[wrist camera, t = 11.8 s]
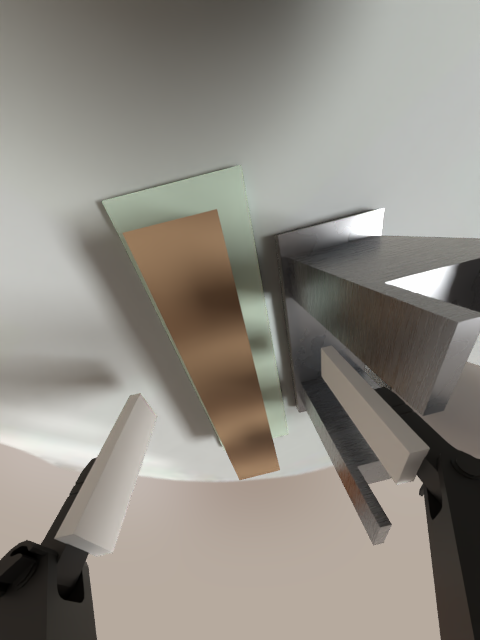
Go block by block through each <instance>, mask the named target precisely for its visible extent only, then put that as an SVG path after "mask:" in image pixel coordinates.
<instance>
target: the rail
mask: <svg viewBox="0 0 480 640" xmlns="http://www.w3.org/2000/svg"><path fill="white" fill-rule="evenodd" d="M123 235H124V238H125V240H126V242H127V244H128V246H129V248H130V250H131V252H132V254H133V257H134V259H135V261H136V263H137V265H138V267H139V269H140V271H141V273H142V275H143V278H144V280H145V282H146V284H147V286H148V288H149V290H150V292H151V294H152V297H153V299H154V301H155V303H156V305H157V307H158V309H159V311H160V313H161V315H162V318H163V320H164V322H165V324H166V326H167V328H168V330H169V332H170V334H171V337H172V339H173V341H174V343H175V345H176V347H177V349H178V351H179V353H180V355H181V358H182V360H183V362H184V364H185V366H186V368H187V370H188V372H189V374H190V377H191V379H192V381H193V383H194V385H195V387H196V389H197V391H198V393H199V395H200V398H201V400H202V402H203V404H204V406H205V408H206V410H207V412H208V414H209V416H210V419H211V421H212V423H213V425H214V427H215V429H216V431H217V433H218V435H219V438H220V440H221V442H222V444H223V446H224V448H225V450H226V452H227V454H228V456H229V459H230V461H231V463H232V465H233V467H234V469H235V471H236V473H237V475H238V478H239V480H242V479H246V478H250V477H254V476H258V475H262V474H266V473H270V472H274V471H278V470H280V468H279V464H278V460H277V456H276V451H275V447H274V443H273V439H272V435H271V431H270V427H269V422H268V418H267V414H266V410H265V406H264V402H263V398H262V393H261V389H260V385H259V381H258V377H257V373H256V369H255V364H254V360H253V356H252V352H251V348H250V344H249V340H248V335H247V331H246V327H245V323H244V319H243V315H242V310H241V306H240V302H239V298H238V294H237V290H236V286H235V281H234V277H233V273H232V269H231V265H230V261H229V257H228V252H227V248H226V244H225V240H224V236H223V232H222V228H221V223H220V219H219V215H218V211H217V209H215V210H211V211H207V212H203V213H199V214H195V215H191V216H187V217H183V218H179V219H176V220H172V221H168V222H164V223H160V224H156V225H152V226H148V227H144V228H140V229H136V230H132V231H128V232H124V233H123Z"/></svg>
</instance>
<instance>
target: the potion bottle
mask: <svg viewBox="0 0 480 640" xmlns="http://www.w3.org/2000/svg"><path fill="white" fill-rule="evenodd" d="M391 391H392V392H394V393H395V394H397V393H396V392H395V391H394V390H393V389H392V388H391ZM397 395H398V396H399V397H400V398H401V399H402V400H403V401H404V402H405V404H406V405H408V406H409V407H410V408H412V409H413V411H414V412H416V413H417V414H418V415H419V416H420V417H421V418H422V419H423V420H424V421H425V422H426V423H428V424H429V425H430V426H431V427H432V428H433V429H434V430H435V431H436V432H437V433H438V434H439V435H440V436H441V437H442V438H443V439H445V440H446V441H447V442H448V443H449V444H450V445H452V446H453V447H454V448H456V449H457V450H460V451H463V452H465V453H467V454H469V455H472V456H473V457H475V458H478V459H480V366H478V365H475V364H472V363H469V362H466V364H465V366H464V368H463V370H462V372H461V375H460V377H459V379H458V381H457V383H456V385H455V388H454V390H453V392H452V394H451V396H450V399H449V401H448V403H447V405H446V407H445V409H444V411H441V412H437V413H433V414H429V415H425V416H422V415H421V414H420V413H418V412H417V411H416V410H415V409H414V408H413V407H412V406H411V405H410V404H409V403H407V402H406V401H405V400H404V399H403V398H402V397H401V396H400V395H399V394H397Z"/></svg>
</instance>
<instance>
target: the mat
mask: <svg viewBox="0 0 480 640" xmlns="http://www.w3.org/2000/svg"><path fill="white" fill-rule="evenodd" d="M102 203H103V205H104V207H105V209H106V211H107V213H108V215H109V217H110V219H111V221H112V223H113V225H114V227H115V229H116V231H117V233H118V236H119V238H120V240H121V242H122V244H123V246H124V248H125V250H126V252H127V254H128V256H129V258H130V260H131V262H132V264H133V266H134V268H135V270H136V272H137V274H138V276H139V278H140V280H141V282H142V284H143V286H144V288H145V290H146V292H147V294H148V296H149V298H150V300H151V303H152V305H153V307H154V309H155V311H156V313H157V315H158V317H159V319H160V321H161V323H162V325H163V327H164V329H165V331H166V333H167V335H168V337H169V339H170V341H171V343H172V345H173V347H174V349H175V351H176V353H177V355H178V357H179V359H180V361H181V363H182V365H183V367H184V370H185V372H186V374H187V376H188V378H189V380H190V382H191V384H192V386H193V388H194V390H195V392H196V394H197V396H198V398H199V400H200V402H201V404H202V406H203V408H204V410H205V412H206V414H207V416H208V418H209V420H210V422H211V424H212V426H213V428H214V430H215V432H216V434H217V437H218V439H219V441H220V443H221V445H222V447H223V449H224V451H225V448H224V446H223V444H222V442H221V440H220V438H219V435H218V433H217V431H216V429H215V427H214V425H213V423H212V421H211V419H210V416H209V414H208V412H207V410H206V408H205V406H204V404H203V402H202V400H201V398H200V395H199V393H198V391H197V389H196V387H195V385H194V383H193V381H192V379H191V377H190V374H189V372H188V370H187V368H186V366H185V364H184V362H183V360H182V358H181V355H180V353H179V351H178V349H177V347H176V345H175V343H174V341H173V339H172V337H171V334H170V332H169V330H168V328H167V326H166V324H165V322H164V320H163V318H162V315H161V313H160V311H159V309H158V307H157V305H156V303H155V301H154V299H153V297H152V294H151V292H150V290H149V288H148V286H147V284H146V282H145V280H144V278H143V275H142V273H141V271H140V269H139V267H138V265H137V263H136V261H135V259H134V257H133V254H132V252H131V250H130V248H129V246H128V244H127V242H126V240H125V238H124V235H123V233H124V232H128V231H132V230H136V229H140V228H144V227H148V226H152V225H156V224H160V223H164V222H168V221H172V220H176V219H179V218H183V217H187V216H191V215H195V214H199V213H203V212H207V211H211V210H215V209H217V211H218V215H219V219H220V223H221V228H222V232H223V236H224V240H225V244H226V248H227V252H228V257H229V261H230V265H231V269H232V273H233V277H234V281H235V286H236V290H237V294H238V298H239V302H240V306H241V310H242V315H243V319H244V323H245V327H246V331H247V335H248V340H249V344H250V348H251V352H252V356H253V360H254V364H255V369H256V373H257V377H258V381H259V385H260V389H261V393H262V398H263V402H264V406H265V410H266V414H267V418H268V422H269V427H270V431H271V435H272V438H276V437H280V436H284V435H288V428H287V423H286V417H285V411H284V406H283V400H282V394H281V389H280V383H279V377H278V372H277V366H276V360H275V355H274V349H273V343H272V338H271V332H270V326H269V321H268V315H267V309H266V303H265V298H264V292H263V286H262V281H261V275H260V269H259V264H258V258H257V252H256V247H255V241H254V235H253V230H252V224H251V218H250V213H249V207H248V201H247V196H246V190H245V184H244V179H243V173H242V167H241V165H238V166H234V167H230V168H226V169H223V170H219V171H215V172H211V173H207V174H203V175H199V176H196V177H192V178H188V179H184V180H180V181H176V182H173V183H169V184H165V185H161V186H157V187H153V188H150V189H146V190H142V191H138V192H134V193H130V194H126V195H123V196H119V197H115V198H111V199H107V200H103V201H102Z"/></svg>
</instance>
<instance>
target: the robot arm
mask: <svg viewBox="0 0 480 640" xmlns="http://www.w3.org/2000/svg"><path fill="white" fill-rule="evenodd" d="M321 376H322V378H323V379H324V381H325V382H326V383H327V385H328V386H329V388H330V389H331V391H332V392H333V394H334V395H335V397H336V398H337V399H338V401H339V402H340V404H341V405H342V407H343V408H344V410H345V411H346V412H347V414H348V415H349V417H350V418H351V420H352V421H353V423H354V424H355V425H356V427H357V428H358V430H359V431H360V433H361V434H362V436H363V437H364V439H365V440H366V441H367V443H368V444H369V446H370V447H371V449H372V450H373V452H374V453H375V454H376V456H377V457H378V459H379V460H380V462H381V463H382V465H383V466H384V467H385V469H386V470H387V472H388V473H389V475H390V476H391V478H392V479H393V481H394V482H395V483H396V485H399V484H403V483H407V482H411V481H414V479H415V477H416V475H417V476H418V477H419V478H420V479H421V481H422V482H423V485H422V486H421V488H420V491H419V495H421V496H423V495H424V498H425V507H426V515H427V524H428V533H429V541H430V550H431V558H432V567H433V576H434V584H435V593H436V601H437V610H438V618H439V627H440V636H441V640H480V459H478V458H475V457H473V456H472V455H469V454H467V453H465V452H463V451H460V450H457V449H456V448H454V447H453V446H452V445H450V444H449V443H448V442H447V441H446V440H445V439H443V438H442V437H441V436H440V435H439V434H438V433H437V432H436V431H435V430H434V429H433V428H432V427H431V426H430V425H429V424H428V423H426V422H425V421H424V420H423V419H422V418H421V417H420V416H419V415H418V414H417V413H416V412H414V411H413V409H412V408H410V407H409V406H408V405H406V404H405V402H404V401H403V400H402V399H401V398H400V397H399V396H398V395H397V394H395V393H394V392H392V391H390V390H388V389H387V388H385V387H382V388H377V389H373V388H372V387H371V386H370V385H369V384H368V383H367V382H366V381H365V380H364V379H363V378H362V377H361V376H360V375H359V373H358V372H357V371H356V370H355V369H354V368H353V367H352V366H351V365H350V364H349V363H348V362H347V361H346V360H345V359H344V358H343V357H342V356H341V355H340V354H339V353H338V352H337V350H336V349H335V348H334V347H333V346H332V345H331V346H327V347H323V348H321ZM156 419H157V416H156V414H155V413H154V412H153V410H152V409H151V407H150V406H149V405H148V403H147V402H146V400H145V399H144V398H143V396H142V395H141V393H139V394H135V395H131V396H129V398H128V400H127V402H126V404H125V406H124V408H123V410H122V411H121V413H120V415H119V417H118V419H117V421H116V423H115V425H114V427H113V428H112V430H111V432H110V434H109V436H108V438H107V440H106V442H105V444H104V445H103V447H102V449H101V451H100V453H99V455H98V457H97V458H94V459H92V460H91V461H90V462H89V463H88V465H87V466H86V467H85V468H84V470H83V471H82V473H81V474H80V476H79V478H78V480H77V482H76V485H75V486H74V487H73V489H72V491H71V493H70V496H69V497H68V498H67V499H66V501H65V503H64V505H63V507H62V508H61V510H60V512H59V514H58V515H57V517H56V519H55V521H54V523H53V525H52V526H51V528H50V530H49V531H48V533H47V535H46V537H45V539H44V540H43V542H42V543H41V545H39V544H36V543H34V542H31V541H28V540H26V541H24V542H21V543H19V544H18V545H17V546H15V547H14V548H12V549H11V550H10V551H9V552H8V553H7V554H6V555H5V556H4V557H3V558H2V559H1V560H0V640H97V637H96V628H95V619H94V611H93V602H92V594H91V586H90V577H89V568H88V565H87V562H85V561H86V558H87V556H88V554H92V555H94V556H101V555H105V554H109V553H113V550H114V548H115V544H116V542H117V538H118V535H119V532H120V529H121V526H122V523H123V520H124V517H125V514H126V511H127V508H128V505H129V502H130V498H131V496H132V492H133V489H134V486H135V483H136V480H137V477H138V474H139V471H140V468H141V465H142V462H143V459H144V456H145V453H146V450H147V447H148V444H149V440H150V437H151V434H152V431H153V428H154V425H155V422H156Z"/></svg>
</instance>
